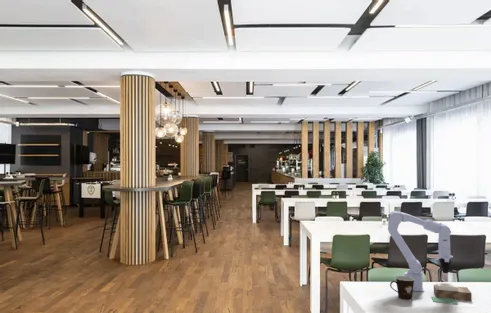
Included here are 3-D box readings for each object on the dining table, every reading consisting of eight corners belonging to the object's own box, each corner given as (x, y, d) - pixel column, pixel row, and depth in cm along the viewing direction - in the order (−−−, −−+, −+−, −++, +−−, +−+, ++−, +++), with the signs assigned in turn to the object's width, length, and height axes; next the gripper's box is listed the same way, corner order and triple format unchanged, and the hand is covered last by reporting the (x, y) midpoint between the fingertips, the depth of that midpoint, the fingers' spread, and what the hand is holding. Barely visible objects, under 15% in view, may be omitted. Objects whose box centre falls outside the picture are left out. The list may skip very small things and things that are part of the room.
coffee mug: (413, 296, 202) (413, 277, 202) (415, 301, 194) (414, 281, 194) (389, 294, 206) (389, 275, 206) (390, 299, 197) (390, 279, 198)
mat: (433, 301, 194) (433, 301, 194) (431, 297, 201) (431, 296, 201) (458, 304, 190) (458, 303, 190) (455, 299, 197) (455, 298, 197)
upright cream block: (438, 289, 201) (438, 285, 201) (436, 286, 206) (436, 282, 206) (457, 291, 198) (457, 287, 198) (455, 288, 203) (455, 284, 204)
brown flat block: (436, 297, 200) (436, 289, 200) (433, 291, 210) (433, 284, 210) (471, 301, 195) (471, 292, 195) (467, 295, 205) (467, 287, 205)
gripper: (455, 250, 202) (456, 276, 202) (450, 245, 216) (451, 269, 215) (440, 249, 204) (441, 275, 204) (436, 244, 218) (436, 269, 218)
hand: (445, 272), depth 210 cm, fingers closed
